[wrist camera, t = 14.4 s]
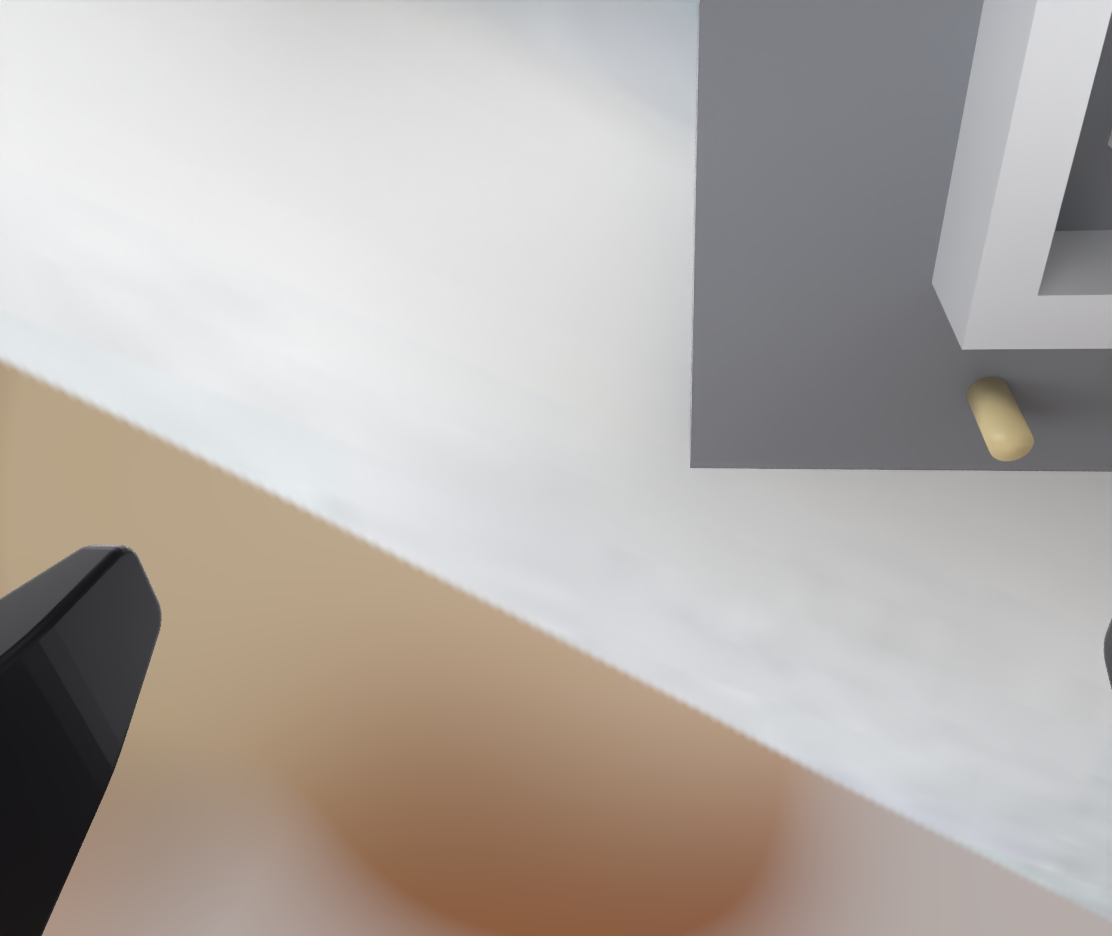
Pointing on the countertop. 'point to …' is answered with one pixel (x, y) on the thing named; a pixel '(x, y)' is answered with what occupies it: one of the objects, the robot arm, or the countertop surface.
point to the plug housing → (1110, 140)
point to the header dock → (903, 235)
